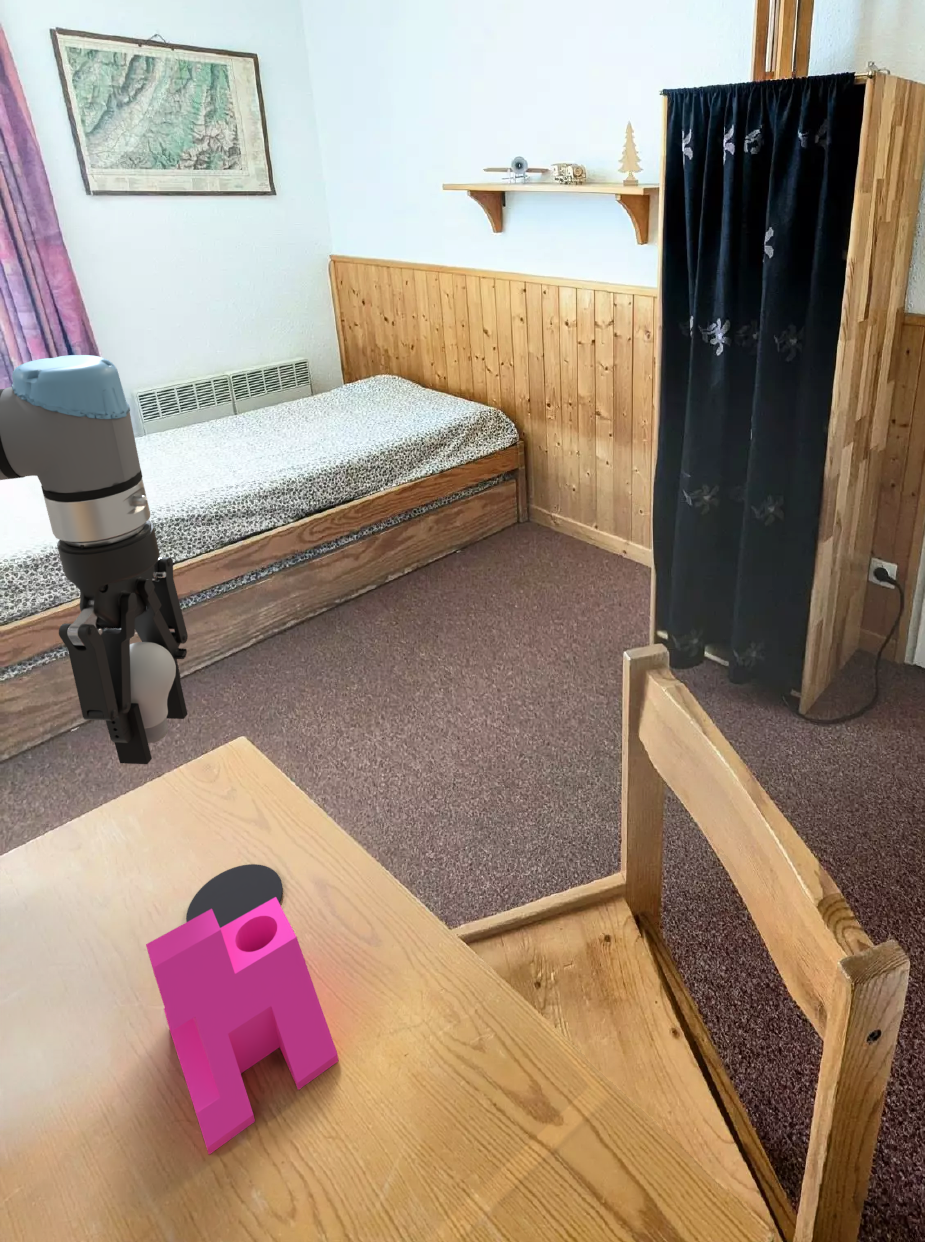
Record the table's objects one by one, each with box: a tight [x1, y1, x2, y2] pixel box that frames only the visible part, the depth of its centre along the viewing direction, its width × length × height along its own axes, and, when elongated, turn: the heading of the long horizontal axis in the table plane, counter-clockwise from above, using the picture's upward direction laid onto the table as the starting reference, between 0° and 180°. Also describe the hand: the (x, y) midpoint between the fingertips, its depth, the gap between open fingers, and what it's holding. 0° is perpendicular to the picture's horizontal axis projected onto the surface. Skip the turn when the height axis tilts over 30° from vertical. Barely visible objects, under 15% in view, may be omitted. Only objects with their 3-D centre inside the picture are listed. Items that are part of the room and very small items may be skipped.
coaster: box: [185, 863, 284, 928], centre depth 78 cm, size 9×9×1 cm
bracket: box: [145, 897, 339, 1156], centre depth 64 cm, size 12×10×10 cm
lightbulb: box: [130, 641, 176, 744], centre depth 75 cm, size 6×6×11 cm
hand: (155, 737), depth 77 cm, fingers closed on lightbulb, 6 cm apart
